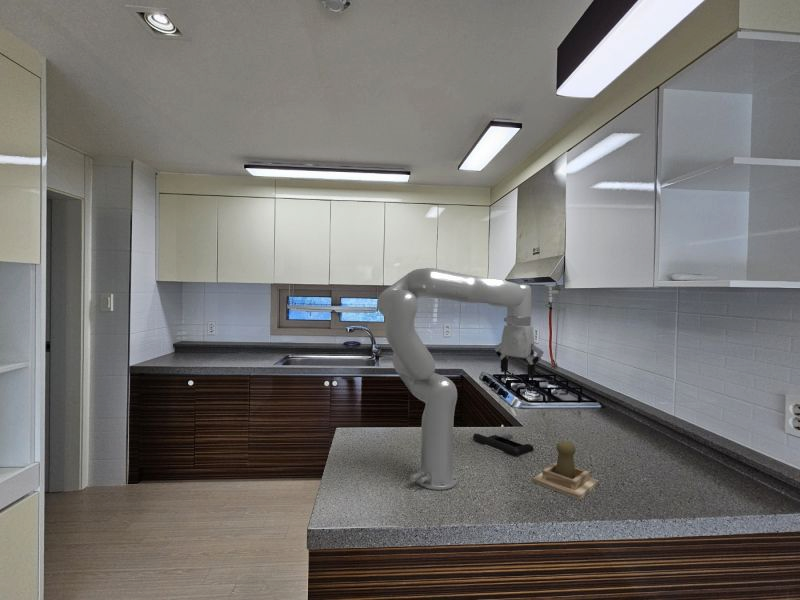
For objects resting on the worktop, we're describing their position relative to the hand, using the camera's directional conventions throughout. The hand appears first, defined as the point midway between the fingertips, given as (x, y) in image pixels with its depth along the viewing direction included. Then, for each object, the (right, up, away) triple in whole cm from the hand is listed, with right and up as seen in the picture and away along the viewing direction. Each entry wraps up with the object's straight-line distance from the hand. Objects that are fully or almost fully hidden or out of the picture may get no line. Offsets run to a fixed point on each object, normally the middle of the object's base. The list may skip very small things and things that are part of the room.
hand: (517, 373), depth 133 cm
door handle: (+1, -31, +19) cm, 36 cm away
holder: (+11, -31, -12) cm, 35 cm away
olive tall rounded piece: (+11, -30, -12) cm, 34 cm away
